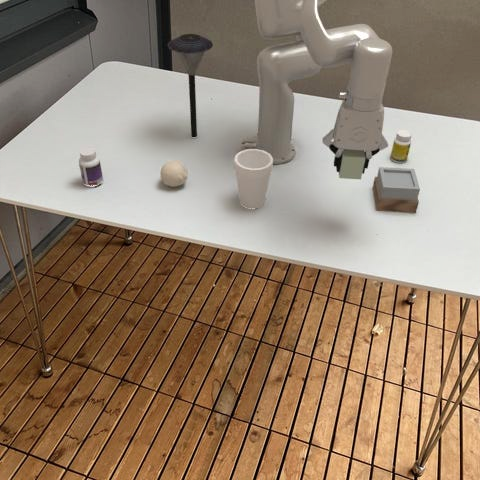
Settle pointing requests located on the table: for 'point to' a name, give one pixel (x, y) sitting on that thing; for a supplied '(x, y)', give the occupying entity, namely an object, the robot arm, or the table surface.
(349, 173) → the sage block
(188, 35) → the solar garden light
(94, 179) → the pill bottle
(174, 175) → the cream round ball
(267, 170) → the foam cup
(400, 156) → the supplement bottle
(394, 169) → the grey block
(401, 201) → the walnut block
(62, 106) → the table surface
